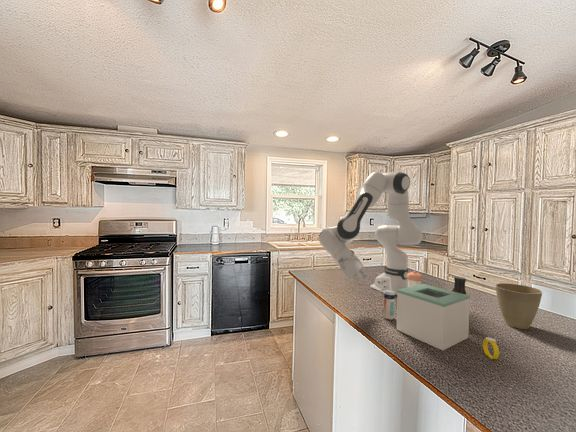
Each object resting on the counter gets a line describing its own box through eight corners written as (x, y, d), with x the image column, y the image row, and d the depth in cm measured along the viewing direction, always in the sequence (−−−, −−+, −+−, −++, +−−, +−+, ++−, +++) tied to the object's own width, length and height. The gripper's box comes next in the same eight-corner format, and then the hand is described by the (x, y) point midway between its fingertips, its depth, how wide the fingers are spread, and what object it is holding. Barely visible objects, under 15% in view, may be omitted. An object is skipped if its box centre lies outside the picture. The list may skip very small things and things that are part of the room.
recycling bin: (396, 329, 105) (397, 289, 104) (422, 320, 114) (423, 283, 114) (442, 350, 89) (444, 304, 89) (468, 337, 99) (469, 295, 98)
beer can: (385, 314, 119) (385, 288, 119) (395, 317, 116) (396, 290, 116) (381, 318, 115) (381, 291, 115) (392, 321, 112) (393, 293, 112)
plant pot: (507, 316, 120) (508, 281, 119) (549, 330, 106) (550, 291, 105) (485, 320, 114) (487, 284, 114) (527, 336, 100) (528, 295, 100)
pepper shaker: (424, 315, 120) (425, 273, 119) (407, 313, 121) (408, 272, 121) (419, 309, 127) (420, 269, 126) (403, 307, 128) (404, 269, 128)
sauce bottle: (458, 328, 106) (459, 280, 106) (445, 322, 112) (446, 276, 112) (470, 326, 108) (472, 279, 108) (457, 320, 114) (458, 275, 114)
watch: (480, 352, 89) (480, 334, 89) (489, 353, 89) (489, 335, 89) (492, 361, 83) (491, 342, 83) (501, 362, 83) (501, 343, 83)
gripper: (342, 256, 114) (364, 281, 110) (353, 250, 133) (373, 271, 128) (332, 265, 117) (353, 290, 112) (344, 257, 135) (363, 279, 131)
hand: (364, 280), depth 120 cm, fingers open, 8 cm apart
